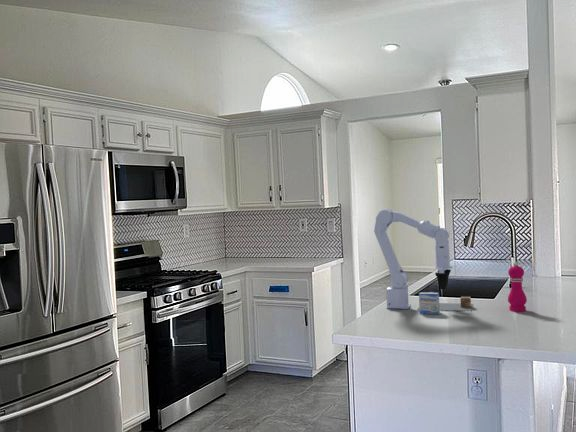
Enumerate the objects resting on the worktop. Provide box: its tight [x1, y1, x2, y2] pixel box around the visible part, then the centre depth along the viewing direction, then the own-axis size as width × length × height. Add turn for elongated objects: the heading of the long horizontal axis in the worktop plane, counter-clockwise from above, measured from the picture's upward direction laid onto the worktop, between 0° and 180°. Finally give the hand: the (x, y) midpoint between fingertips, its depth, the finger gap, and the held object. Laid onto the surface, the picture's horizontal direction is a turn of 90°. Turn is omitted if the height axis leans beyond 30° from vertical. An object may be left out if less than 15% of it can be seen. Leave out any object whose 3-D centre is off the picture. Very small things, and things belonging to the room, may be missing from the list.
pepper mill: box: [507, 261, 528, 313], centre depth 219 cm, size 7×7×20 cm
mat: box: [416, 302, 473, 312], centre depth 232 cm, size 22×15×1 cm
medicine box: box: [418, 291, 441, 315], centre depth 221 cm, size 8×4×9 cm, turn 69°
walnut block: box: [460, 296, 472, 308], centre depth 230 cm, size 4×4×4 cm
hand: (443, 287), depth 229 cm, fingers open, 7 cm apart
